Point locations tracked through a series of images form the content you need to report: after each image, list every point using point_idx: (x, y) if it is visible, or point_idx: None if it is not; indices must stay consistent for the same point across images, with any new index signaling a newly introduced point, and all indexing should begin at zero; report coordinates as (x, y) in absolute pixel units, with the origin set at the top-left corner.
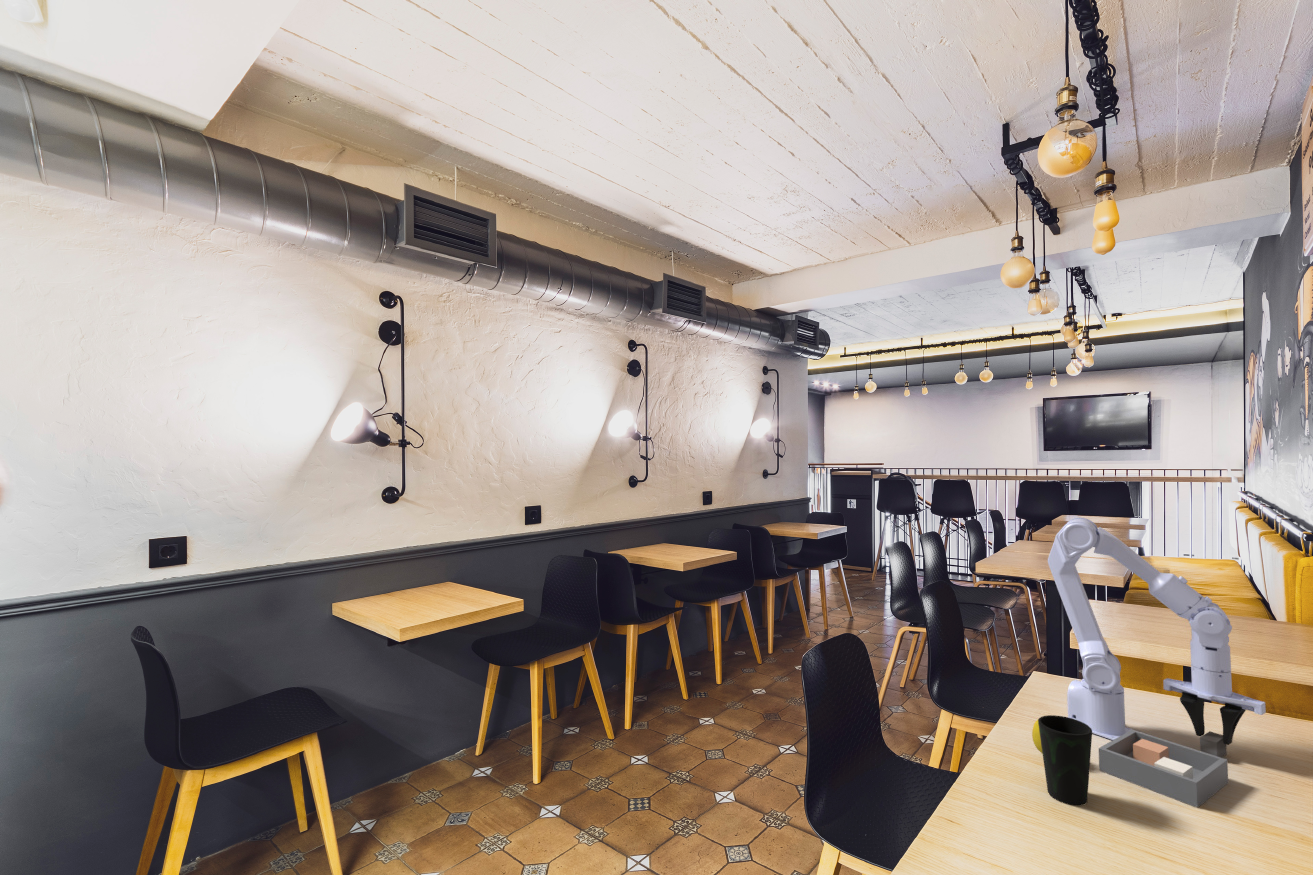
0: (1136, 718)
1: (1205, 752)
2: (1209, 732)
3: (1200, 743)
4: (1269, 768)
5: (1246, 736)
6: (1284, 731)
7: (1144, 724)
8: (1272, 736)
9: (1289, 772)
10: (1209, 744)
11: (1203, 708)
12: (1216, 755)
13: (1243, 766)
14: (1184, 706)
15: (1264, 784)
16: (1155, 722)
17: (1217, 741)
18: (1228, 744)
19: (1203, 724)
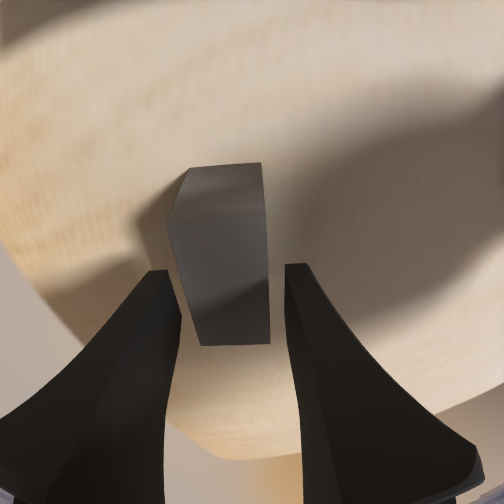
0: (482, 309)
1: (237, 174)
2: (264, 330)
3: (260, 192)
4: (83, 273)
5: (244, 405)
6: (217, 441)
7: (470, 290)
8: (215, 424)
9: (56, 290)
10: (209, 203)
11: (303, 457)
12: (184, 179)
13: (113, 213)
14: (430, 416)
15: (4, 116)
16: (441, 328)
17: (173, 246)
18: (147, 274)
19: (291, 357)
